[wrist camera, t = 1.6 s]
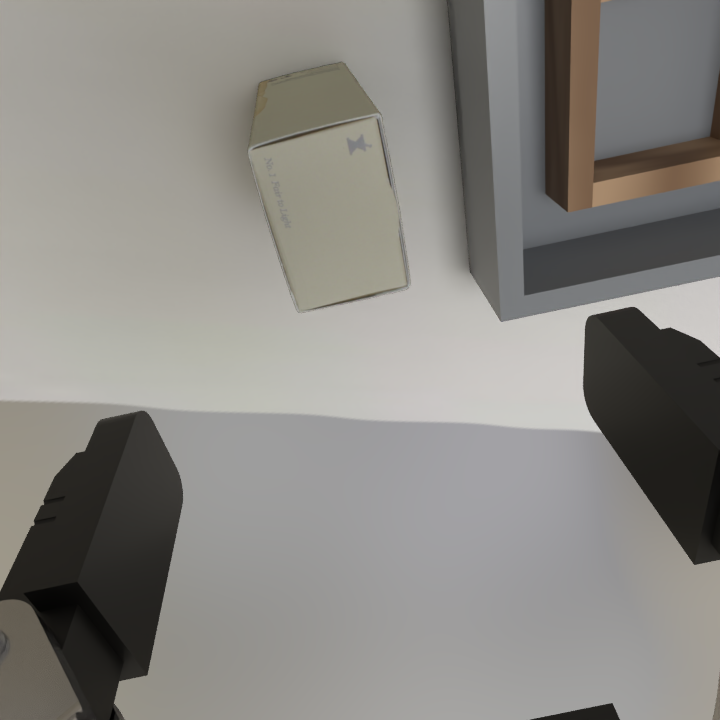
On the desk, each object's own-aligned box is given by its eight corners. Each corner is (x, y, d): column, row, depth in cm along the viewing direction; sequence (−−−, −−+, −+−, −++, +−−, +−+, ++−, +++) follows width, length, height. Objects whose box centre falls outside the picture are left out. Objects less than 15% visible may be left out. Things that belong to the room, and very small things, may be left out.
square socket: (545, 193, 31) (567, 212, 28) (544, -26, 25) (571, -26, 23) (728, 154, 31) (767, 170, 28) (767, -74, 25) (819, -80, 23)
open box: (470, 272, 34) (501, 321, 29) (437, -121, 24) (475, -149, 19) (776, 207, 34) (861, 246, 29) (871, -217, 24) (1025, -271, 19)
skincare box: (257, 81, 27) (236, 138, 17) (349, 58, 27) (382, 103, 17) (292, 208, 31) (292, 319, 21) (373, 189, 31) (413, 291, 21)
